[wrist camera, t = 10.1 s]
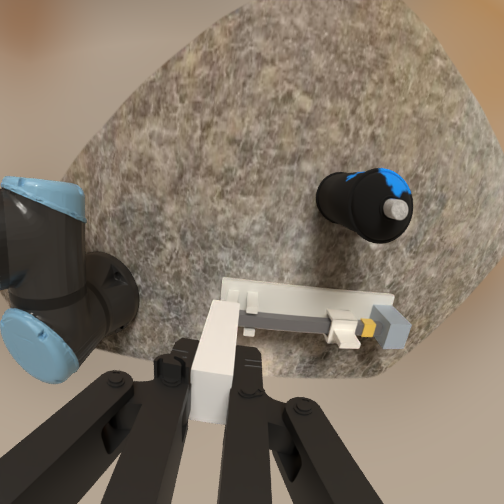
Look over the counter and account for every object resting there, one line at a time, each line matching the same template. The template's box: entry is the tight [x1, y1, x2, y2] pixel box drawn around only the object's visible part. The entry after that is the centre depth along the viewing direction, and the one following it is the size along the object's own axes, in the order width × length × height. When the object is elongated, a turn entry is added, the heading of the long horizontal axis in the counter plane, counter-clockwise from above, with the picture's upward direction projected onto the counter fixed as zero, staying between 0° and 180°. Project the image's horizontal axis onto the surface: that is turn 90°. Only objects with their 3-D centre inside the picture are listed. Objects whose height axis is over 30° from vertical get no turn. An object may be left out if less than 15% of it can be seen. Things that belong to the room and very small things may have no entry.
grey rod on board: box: [220, 277, 412, 349], centre depth 44 cm, size 30×8×9 cm, turn 83°
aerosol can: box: [316, 168, 413, 244], centre depth 34 cm, size 8×8×20 cm
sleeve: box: [323, 309, 361, 349], centre depth 41 cm, size 4×4×8 cm
